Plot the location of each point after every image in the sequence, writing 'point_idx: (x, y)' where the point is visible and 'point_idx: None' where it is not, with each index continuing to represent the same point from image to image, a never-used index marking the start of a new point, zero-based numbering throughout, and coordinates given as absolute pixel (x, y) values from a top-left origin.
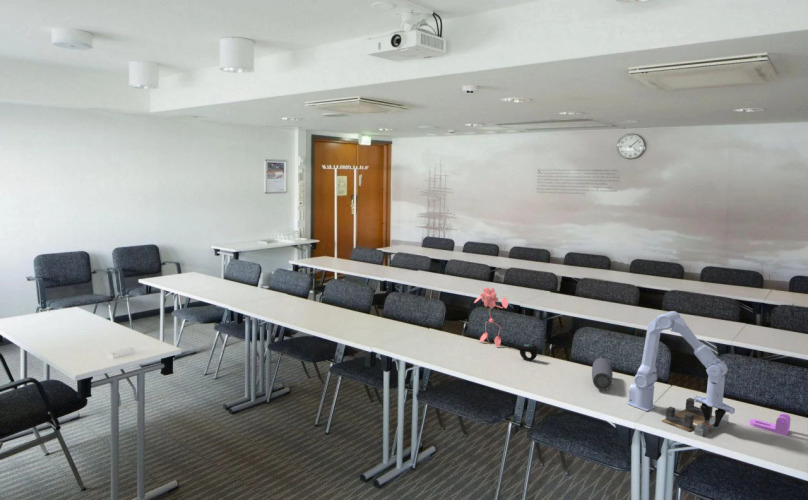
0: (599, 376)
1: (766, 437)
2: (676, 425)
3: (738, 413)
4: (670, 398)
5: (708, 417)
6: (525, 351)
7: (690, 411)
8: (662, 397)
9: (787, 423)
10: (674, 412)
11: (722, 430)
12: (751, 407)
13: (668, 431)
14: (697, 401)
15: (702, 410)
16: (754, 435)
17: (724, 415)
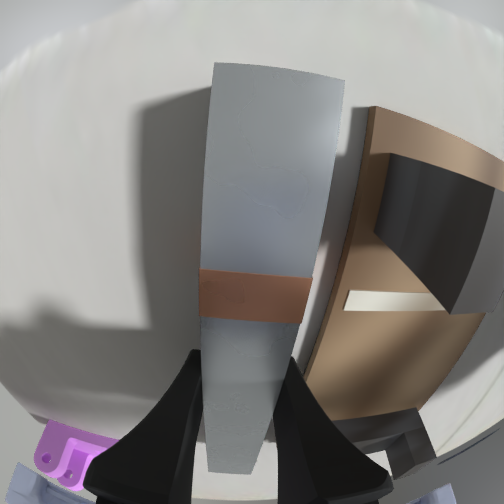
0: None
1: (45, 387)
2: (473, 148)
3: (225, 480)
4: (445, 428)
5: (280, 414)
6: None
7: (396, 415)
8: (467, 414)
9: (35, 452)
10: None
11: (171, 356)
12: (220, 497)
13: (463, 22)
14: (418, 502)
15: (354, 453)
16: (66, 384)
17: (222, 466)
